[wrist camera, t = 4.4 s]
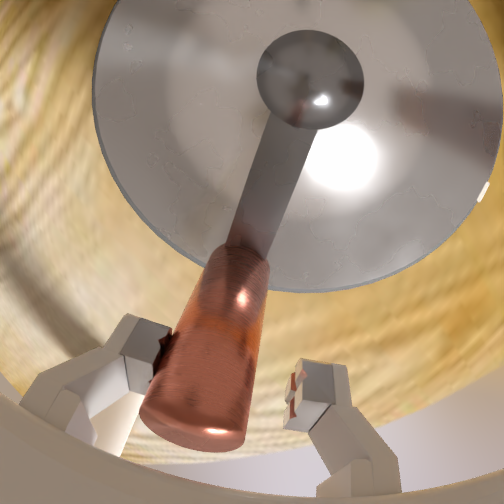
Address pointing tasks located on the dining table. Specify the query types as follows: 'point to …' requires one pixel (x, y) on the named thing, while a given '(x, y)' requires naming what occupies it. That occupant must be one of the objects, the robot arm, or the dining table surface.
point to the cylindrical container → (116, 423)
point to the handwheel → (287, 162)
